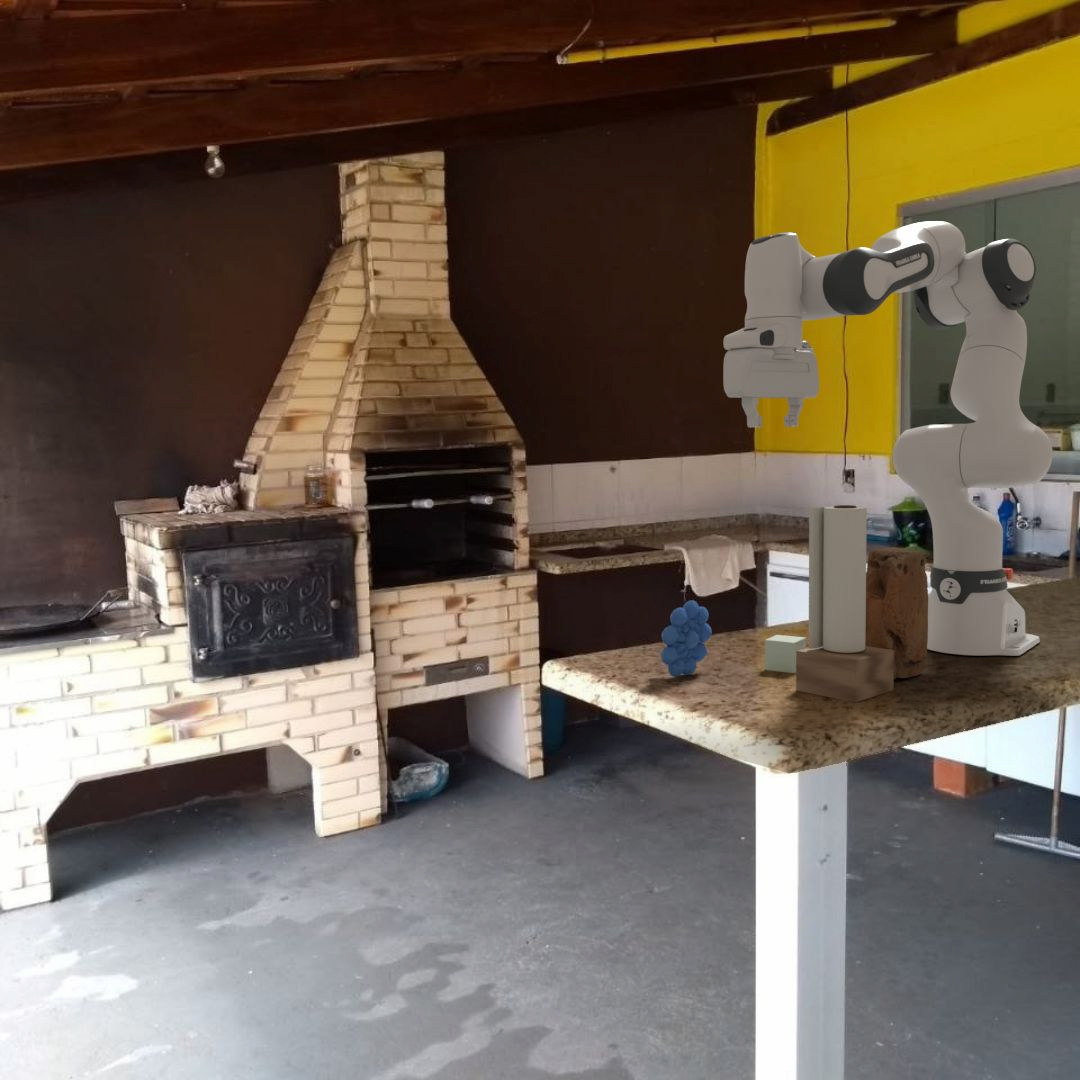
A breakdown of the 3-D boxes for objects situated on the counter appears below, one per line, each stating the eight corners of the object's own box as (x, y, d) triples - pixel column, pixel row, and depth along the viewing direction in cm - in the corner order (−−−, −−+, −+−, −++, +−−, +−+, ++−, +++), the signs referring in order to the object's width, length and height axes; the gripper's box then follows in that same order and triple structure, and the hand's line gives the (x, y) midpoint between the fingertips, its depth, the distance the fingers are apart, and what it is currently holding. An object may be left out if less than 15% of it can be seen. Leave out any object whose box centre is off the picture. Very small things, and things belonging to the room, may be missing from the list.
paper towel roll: (872, 648, 156) (873, 505, 154) (854, 655, 151) (856, 508, 149) (826, 643, 160) (827, 503, 158) (808, 650, 156) (809, 506, 154)
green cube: (777, 664, 174) (776, 634, 174) (806, 667, 172) (806, 637, 171) (765, 670, 170) (765, 639, 170) (794, 673, 167) (794, 642, 167)
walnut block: (835, 679, 163) (835, 641, 162) (893, 690, 155) (893, 650, 154) (796, 690, 156) (796, 650, 156) (855, 702, 149) (855, 660, 148)
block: (889, 666, 170) (890, 544, 168) (932, 674, 165) (934, 547, 163) (851, 677, 163) (852, 550, 161) (895, 686, 158) (896, 553, 156)
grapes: (688, 665, 174) (687, 594, 173) (721, 671, 170) (721, 598, 168) (642, 677, 166) (641, 603, 165) (675, 684, 162) (675, 607, 160)
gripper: (796, 343, 174) (796, 426, 175) (716, 337, 161) (716, 428, 162) (829, 339, 169) (828, 426, 171) (748, 334, 156) (749, 427, 158)
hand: (773, 427), depth 166 cm, fingers open, 8 cm apart
